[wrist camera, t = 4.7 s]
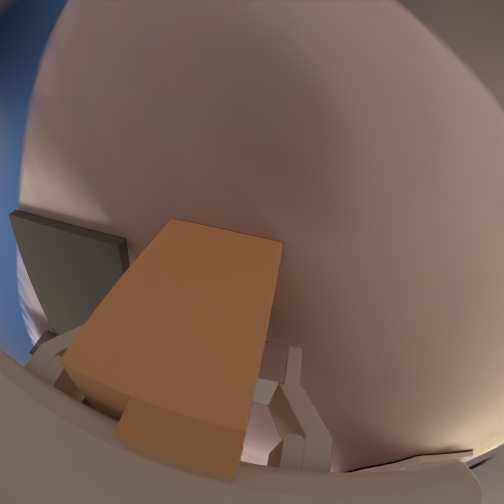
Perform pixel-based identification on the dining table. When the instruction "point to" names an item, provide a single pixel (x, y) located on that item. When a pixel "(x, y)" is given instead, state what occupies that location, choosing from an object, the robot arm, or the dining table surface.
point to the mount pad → (68, 267)
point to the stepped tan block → (181, 346)
